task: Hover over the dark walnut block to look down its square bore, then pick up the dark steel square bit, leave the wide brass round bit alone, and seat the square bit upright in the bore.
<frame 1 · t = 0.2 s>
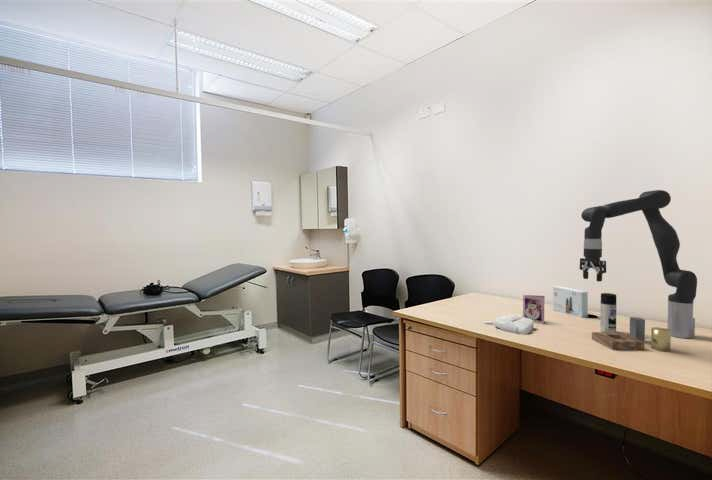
hand: (592, 280, 171), 29 cm above the table, tool pointing down, fingers open, 8 cm apart
square bit: (636, 340, 165), on the table
round bit: (660, 349, 154), on the table
lung model: (506, 328, 189), on the table
skincare box: (569, 313, 217), on the table
greeting card: (535, 321, 200), on the table
bore block: (616, 344, 160), on the table
spray can: (608, 332, 179), on the table
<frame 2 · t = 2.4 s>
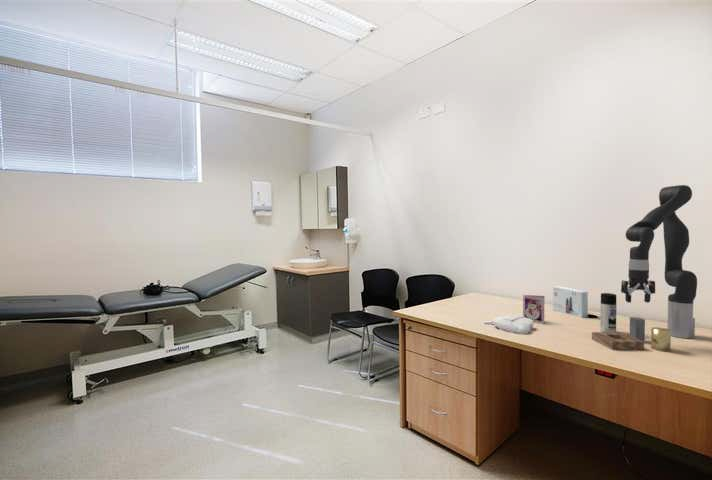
hand: (637, 302, 164), 19 cm above the table, tool pointing down, fingers open, 8 cm apart
nothing on the table moved.
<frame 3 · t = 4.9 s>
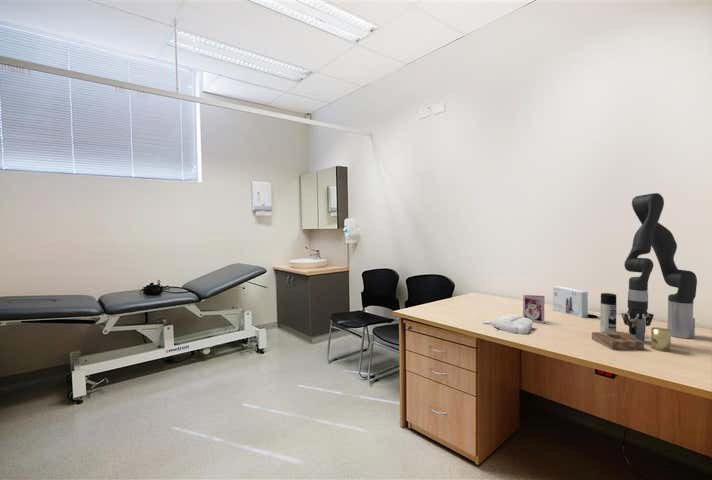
hand: (636, 334, 164), 3 cm above the table, tool pointing down, fingers closed on square bit, 4 cm apart
square bit: (636, 340, 165), on the table, touching gripper
everything else where it was.
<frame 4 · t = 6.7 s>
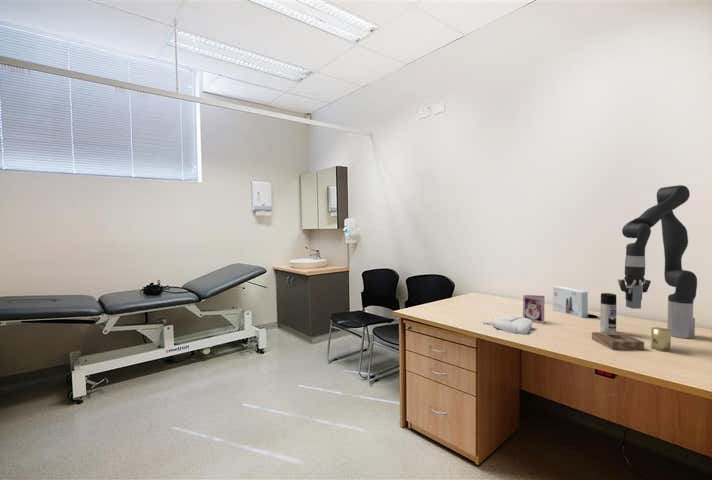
hand: (633, 300, 163), 20 cm above the table, tool pointing down, fingers closed on square bit, 4 cm apart
square bit: (633, 307, 163), point 16 cm above the table, touching gripper
everything else where it was.
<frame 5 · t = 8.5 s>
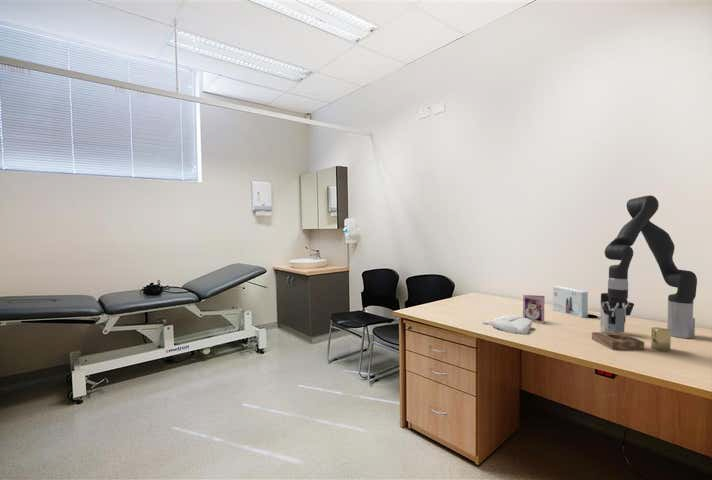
hand: (616, 323, 160), 10 cm above the table, tool pointing down, fingers closed on square bit, 4 cm apart
square bit: (616, 330, 160), point 6 cm above the table, touching gripper
when the fingers open (5 cm above the table, at t = 9.9 s): square bit drops 2 cm, resting in bore block.
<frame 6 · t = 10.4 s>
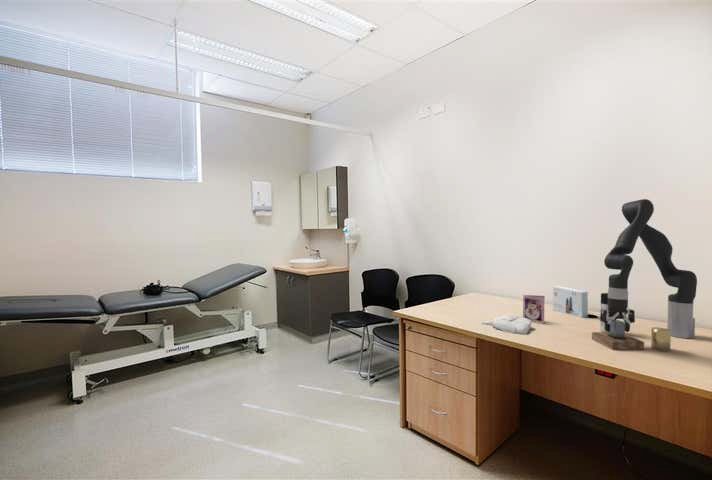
hand: (617, 331, 160), 6 cm above the table, tool pointing down, fingers open, 8 cm apart
square bit: (616, 344, 160), resting in bore block
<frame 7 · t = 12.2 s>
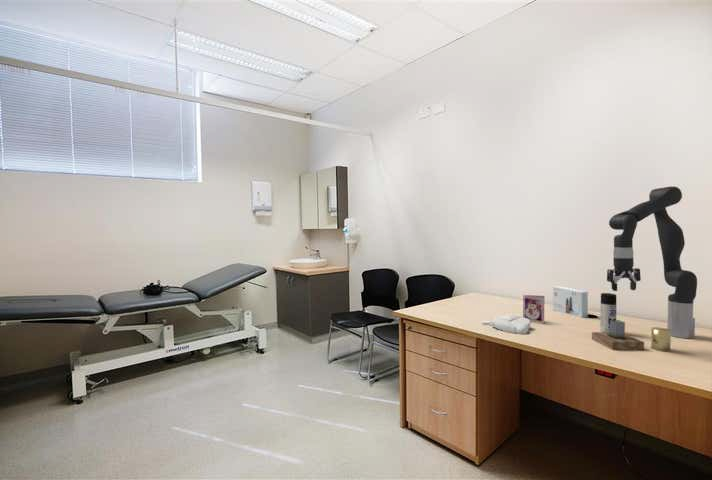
hand: (623, 290, 163), 25 cm above the table, tool pointing down, fingers open, 8 cm apart
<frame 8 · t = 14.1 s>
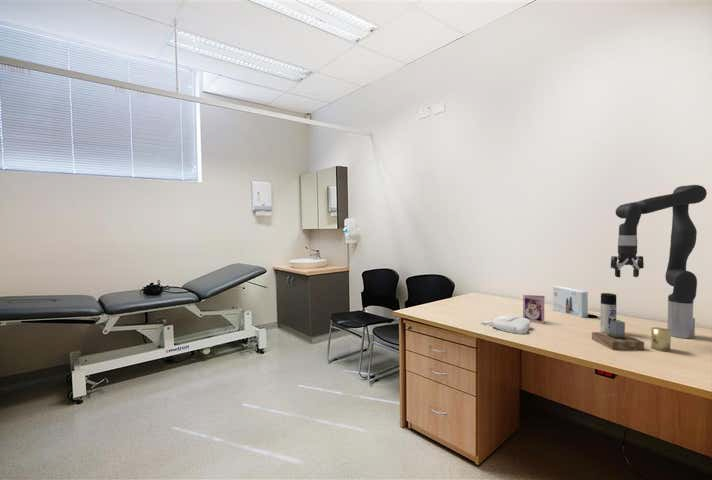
hand: (626, 277, 169), 30 cm above the table, tool pointing down, fingers open, 8 cm apart
at the end: square bit 0.1 cm off-centre on the bore block, point 0.0 cm above the bore block's base; square bit tilted 0°; the gripper is holding nothing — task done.
